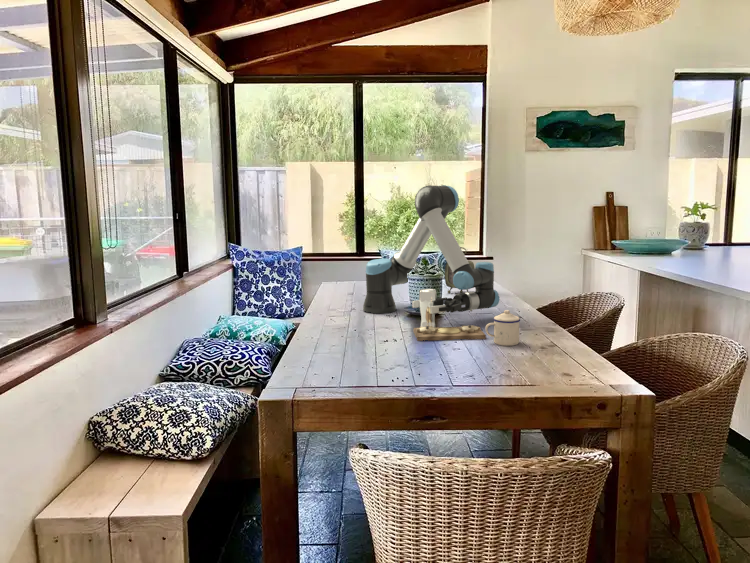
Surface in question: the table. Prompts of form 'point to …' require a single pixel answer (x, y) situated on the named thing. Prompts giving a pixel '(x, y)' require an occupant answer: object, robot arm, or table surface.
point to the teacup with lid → (505, 329)
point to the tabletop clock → (450, 274)
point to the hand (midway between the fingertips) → (421, 307)
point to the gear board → (449, 333)
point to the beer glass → (427, 306)
